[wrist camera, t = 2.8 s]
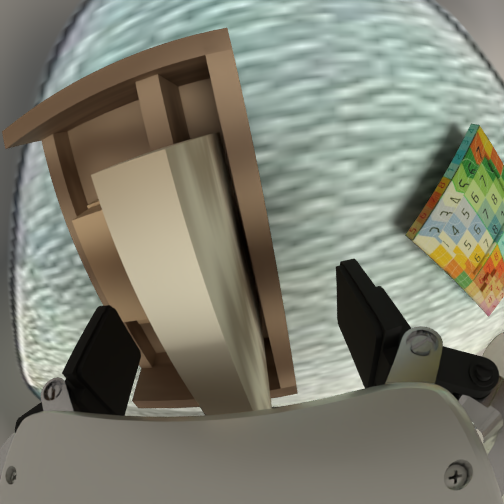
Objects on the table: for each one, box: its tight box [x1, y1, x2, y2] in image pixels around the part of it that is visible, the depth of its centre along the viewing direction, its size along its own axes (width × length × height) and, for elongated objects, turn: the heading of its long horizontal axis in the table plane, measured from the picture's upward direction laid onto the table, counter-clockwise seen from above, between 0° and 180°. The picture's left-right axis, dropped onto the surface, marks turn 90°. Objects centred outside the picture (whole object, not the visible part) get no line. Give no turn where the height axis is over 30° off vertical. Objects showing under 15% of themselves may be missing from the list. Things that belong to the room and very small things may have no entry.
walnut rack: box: [2, 28, 298, 408], centre depth 18 cm, size 24×14×7 cm, turn 11°
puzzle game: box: [406, 124, 504, 317], centre depth 20 cm, size 12×5×20 cm
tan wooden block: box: [72, 199, 150, 324], centre depth 18 cm, size 10×5×5 cm, turn 11°
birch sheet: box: [91, 132, 272, 415], centre depth 14 cm, size 14×2×14 cm, turn 11°
